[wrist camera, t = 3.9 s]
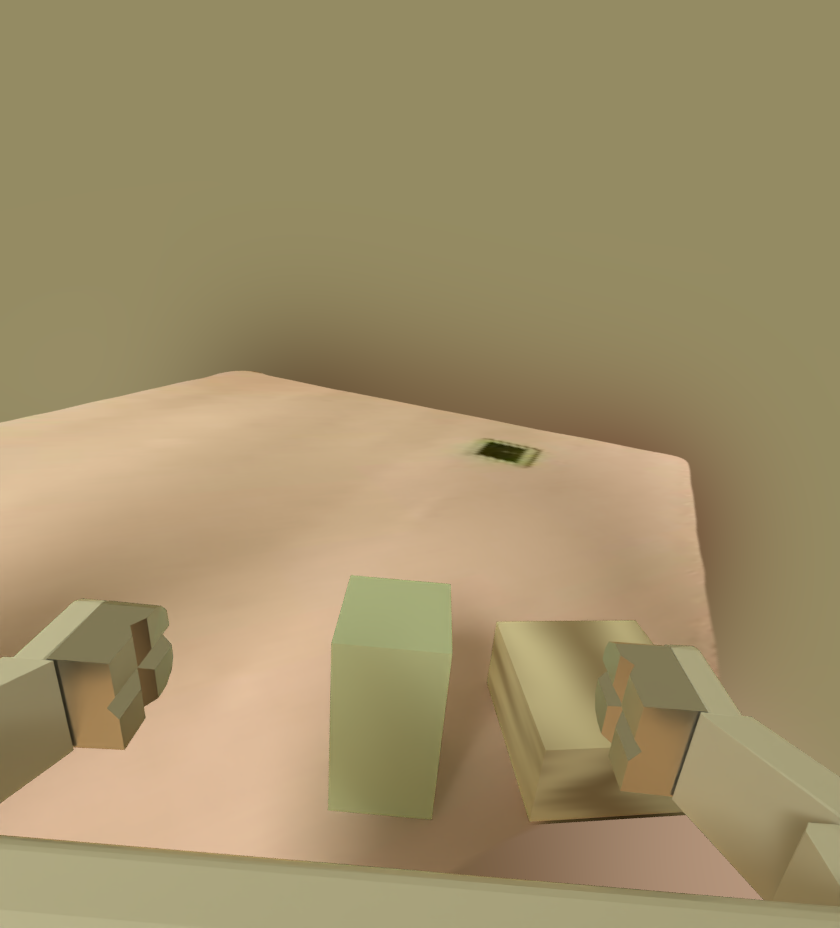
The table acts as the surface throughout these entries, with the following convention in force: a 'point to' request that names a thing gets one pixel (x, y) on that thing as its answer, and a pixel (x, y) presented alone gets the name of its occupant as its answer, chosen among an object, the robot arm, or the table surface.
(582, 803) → the base block
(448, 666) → the green block
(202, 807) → the table surface
